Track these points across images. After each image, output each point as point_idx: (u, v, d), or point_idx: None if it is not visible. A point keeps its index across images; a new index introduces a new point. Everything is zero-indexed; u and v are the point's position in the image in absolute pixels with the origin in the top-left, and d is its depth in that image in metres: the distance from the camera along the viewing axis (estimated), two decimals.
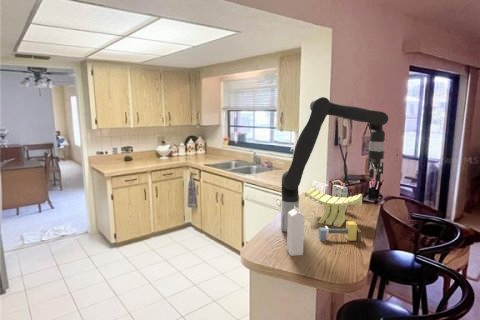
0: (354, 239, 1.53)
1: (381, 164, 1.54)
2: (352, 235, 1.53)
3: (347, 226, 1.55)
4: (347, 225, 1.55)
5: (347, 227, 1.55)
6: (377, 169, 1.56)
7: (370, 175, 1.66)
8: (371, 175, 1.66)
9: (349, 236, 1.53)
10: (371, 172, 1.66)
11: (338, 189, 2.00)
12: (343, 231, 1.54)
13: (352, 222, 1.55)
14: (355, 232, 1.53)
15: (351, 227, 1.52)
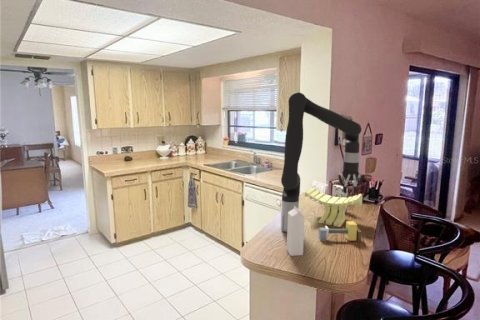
0: (354, 239, 1.53)
1: None
2: (352, 235, 1.53)
3: (347, 226, 1.55)
4: (347, 225, 1.55)
5: (347, 227, 1.55)
6: (359, 181, 1.56)
7: None
8: None
9: (349, 236, 1.53)
10: None
11: (338, 189, 2.00)
12: (343, 231, 1.54)
13: (352, 222, 1.55)
14: (355, 232, 1.53)
15: (351, 227, 1.52)
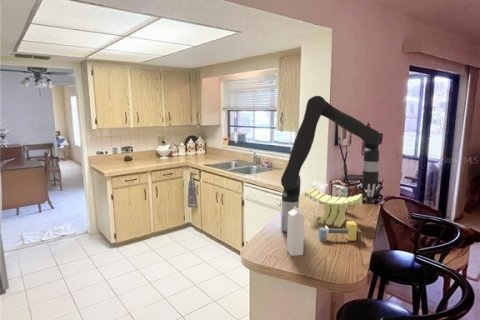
0: (354, 239, 1.53)
1: None
2: (352, 235, 1.53)
3: (347, 226, 1.55)
4: (347, 225, 1.55)
5: (347, 227, 1.55)
6: (377, 191, 1.50)
7: None
8: None
9: (349, 236, 1.53)
10: None
11: (338, 189, 2.00)
12: (343, 231, 1.54)
13: (352, 222, 1.55)
14: (355, 232, 1.53)
15: (351, 227, 1.52)
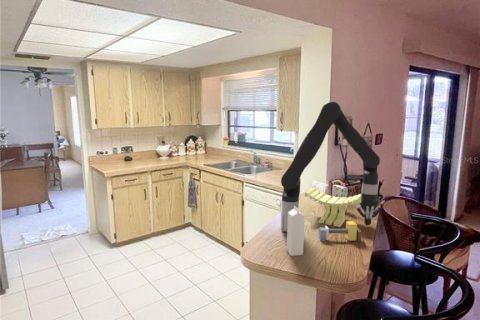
0: (354, 239, 1.53)
1: None
2: (352, 235, 1.53)
3: (347, 226, 1.55)
4: (347, 225, 1.55)
5: (347, 227, 1.55)
6: (375, 213, 1.52)
7: None
8: None
9: (349, 236, 1.53)
10: None
11: (338, 189, 2.00)
12: (343, 231, 1.54)
13: (352, 222, 1.55)
14: (355, 232, 1.53)
15: (351, 227, 1.52)
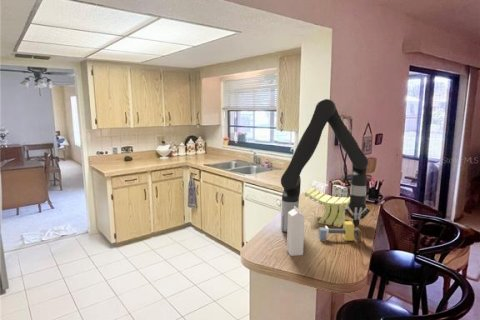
0: (351, 239, 1.53)
1: None
2: (349, 235, 1.53)
3: (344, 226, 1.55)
4: (344, 225, 1.55)
5: (344, 227, 1.55)
6: (363, 214, 1.52)
7: None
8: None
9: (346, 236, 1.53)
10: None
11: (338, 189, 2.00)
12: (343, 231, 1.54)
13: (349, 222, 1.55)
14: (352, 232, 1.53)
15: (348, 227, 1.52)
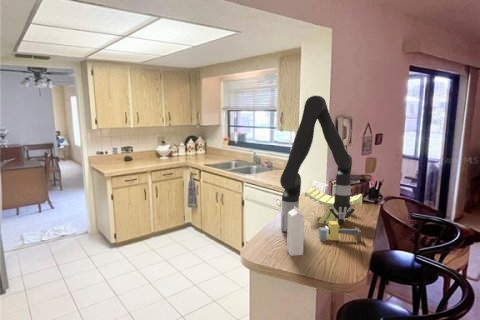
0: (336, 239, 1.53)
1: None
2: (334, 235, 1.53)
3: (329, 226, 1.55)
4: (329, 225, 1.55)
5: (329, 227, 1.55)
6: (348, 214, 1.52)
7: None
8: None
9: (331, 235, 1.53)
10: None
11: None
12: (343, 231, 1.54)
13: (334, 222, 1.55)
14: (337, 232, 1.53)
15: (333, 227, 1.53)
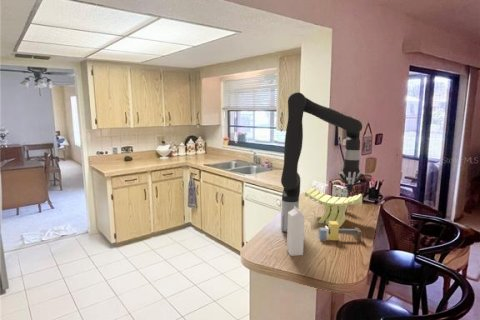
0: (336, 239, 1.53)
1: None
2: (334, 235, 1.53)
3: (329, 226, 1.55)
4: (329, 225, 1.55)
5: (329, 227, 1.55)
6: (357, 179, 1.55)
7: None
8: None
9: (331, 235, 1.53)
10: None
11: (338, 189, 2.00)
12: (343, 231, 1.54)
13: (334, 222, 1.55)
14: (337, 232, 1.53)
15: (333, 227, 1.53)
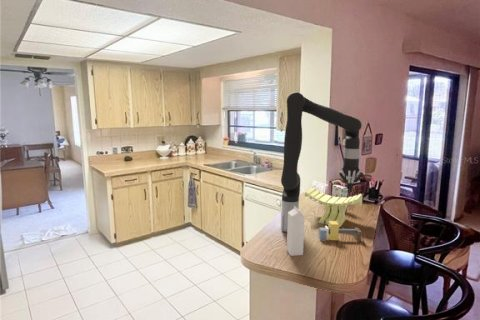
0: (336, 239, 1.53)
1: None
2: (334, 235, 1.53)
3: (329, 226, 1.55)
4: (329, 225, 1.55)
5: (329, 227, 1.55)
6: (357, 178, 1.56)
7: None
8: None
9: (331, 235, 1.53)
10: None
11: (338, 189, 2.00)
12: (343, 231, 1.54)
13: (334, 222, 1.55)
14: (337, 232, 1.53)
15: (333, 227, 1.53)
